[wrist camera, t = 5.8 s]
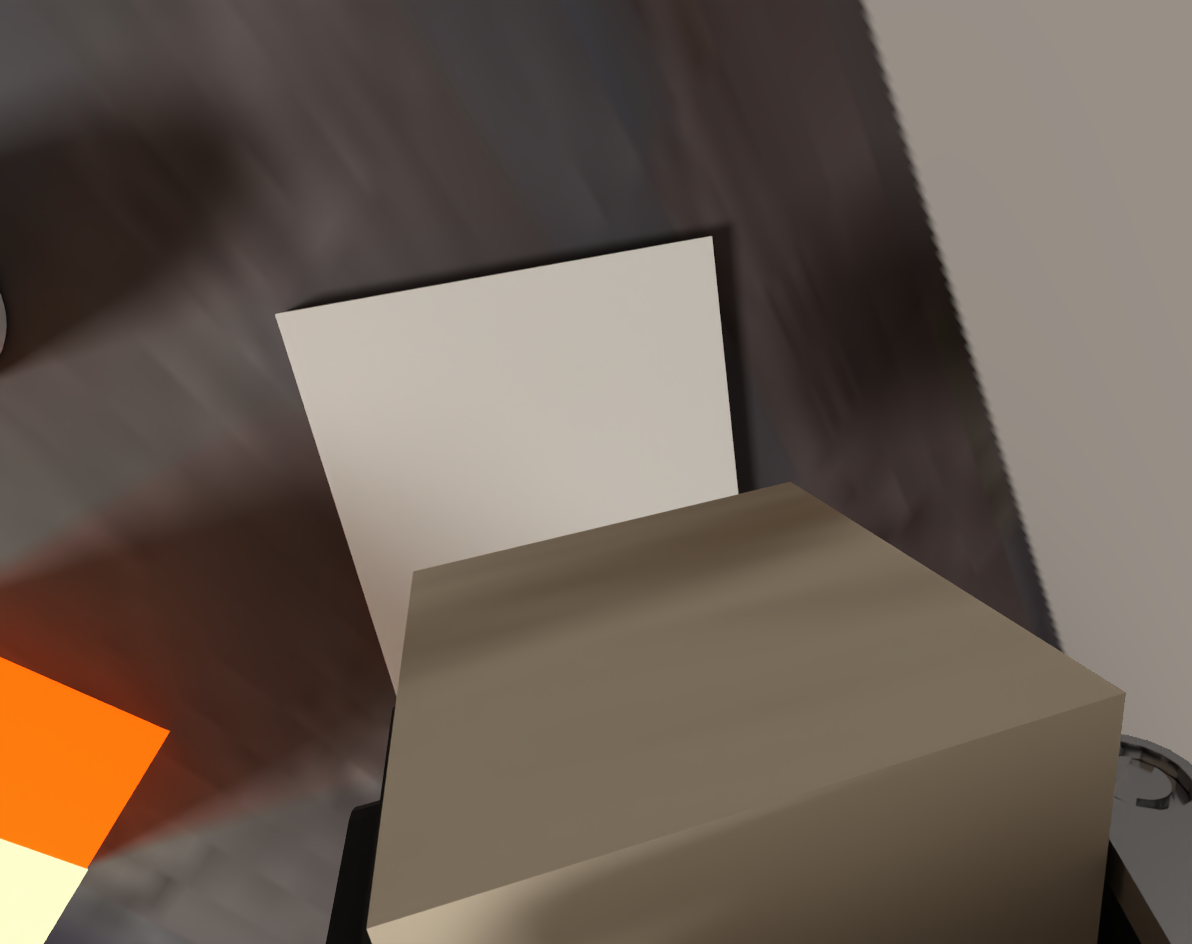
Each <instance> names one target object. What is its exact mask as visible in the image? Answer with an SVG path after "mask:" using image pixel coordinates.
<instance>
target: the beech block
mask: <svg viewBox="0 0 1192 944" xmlns="http://www.w3.org/2000/svg"><path fill="white" fill-rule="evenodd" d="M1124 702H1125V692H1124V691H1122V690H1121V689H1119V688H1118V687H1116V686H1114V685H1113V684H1111V683H1110V682H1108V681H1106V680H1105V679H1103V678H1101V677H1100V676H1098V675H1097V674H1095V673H1094V672H1092V671H1091V670H1089V669H1087V668H1086V667H1084V666H1083V665H1081V664H1079V663H1078V662H1076V661H1075V660H1073V659H1071V658H1070V657H1068V656H1067V655H1065V654H1064V653H1062V652H1060V651H1059V650H1057V649H1056V648H1054V647H1052V646H1051V645H1049V644H1048V643H1046V642H1044V641H1043V640H1041V639H1040V638H1038V637H1036V636H1035V635H1033V634H1032V633H1030V632H1029V631H1027V630H1025V629H1024V628H1022V627H1021V626H1019V625H1017V624H1016V623H1014V622H1013V621H1011V620H1009V619H1008V618H1006V617H1005V616H1003V615H1001V614H1000V613H998V612H997V611H995V610H994V609H992V608H990V607H989V606H987V605H986V604H984V603H982V602H981V601H979V600H978V599H976V598H974V597H973V596H971V595H970V594H968V593H966V592H965V591H963V590H962V589H960V588H958V587H957V586H955V585H954V584H952V583H951V582H949V581H947V580H946V579H944V578H943V577H941V576H939V575H938V574H936V573H935V572H933V571H931V570H930V569H928V568H927V567H925V566H923V565H922V564H920V563H919V562H917V561H916V560H914V559H912V558H911V557H909V556H908V555H906V554H904V553H903V552H901V551H900V550H898V549H896V548H895V547H893V546H892V545H890V544H888V543H887V542H885V541H884V540H882V539H881V538H879V537H877V536H876V535H874V534H873V533H871V532H869V531H868V530H866V529H865V528H863V527H861V526H860V525H858V524H857V523H855V522H853V521H852V520H850V519H849V518H847V517H846V516H844V515H842V514H841V513H839V512H838V511H836V510H834V509H833V508H831V507H830V506H828V505H826V504H825V503H823V502H822V501H820V500H818V499H817V498H815V497H814V496H812V495H811V494H809V493H807V492H806V491H804V490H803V489H801V488H799V487H798V486H796V485H795V484H793V483H791V482H788V483H784V484H779V485H775V486H771V487H767V488H762V489H758V490H754V491H750V492H746V493H741V494H737V495H733V496H729V497H725V498H720V499H716V500H712V501H708V502H704V503H699V504H695V505H691V506H687V507H682V508H678V509H674V510H670V511H666V512H661V513H657V514H653V515H649V516H645V517H640V518H636V519H632V520H628V521H624V522H619V523H615V524H611V525H607V526H602V527H598V528H594V529H590V530H586V531H581V532H577V533H573V534H569V535H565V536H560V537H556V538H552V539H548V540H544V541H539V542H535V543H531V544H527V545H523V546H518V547H514V548H510V549H506V550H501V551H497V552H493V553H489V554H485V555H480V556H476V557H472V558H468V559H464V560H459V561H455V562H451V563H447V564H443V565H438V566H434V567H430V568H426V569H421V570H417V571H413V576H412V583H411V591H410V599H409V606H408V614H407V622H406V629H405V637H404V645H403V652H402V660H401V668H400V675H399V683H398V691H397V698H396V706H395V714H394V721H393V729H392V737H391V744H390V752H389V760H388V767H387V775H386V783H385V790H384V798H383V806H382V813H381V821H380V829H379V836H378V844H377V852H376V859H375V867H374V875H373V882H372V890H371V898H370V905H369V913H368V921H367V928H366V929H367V932H368V934H369V937H370V939H371V942H372V944H1097V939H1098V931H1099V922H1100V913H1101V904H1102V896H1103V887H1104V878H1105V869H1106V861H1107V852H1108V843H1109V834H1110V826H1111V817H1112V808H1113V799H1114V791H1115V782H1116V773H1117V764H1118V756H1119V747H1120V738H1121V729H1122V720H1123V711H1124Z"/></svg>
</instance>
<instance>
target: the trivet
mask: <svg viewBox="0 0 1192 944" xmlns="http://www.w3.org/2000/svg"><path fill="white" fill-rule="evenodd" d="M275 316H276V319H277V322H278V325H279V328H280V331H281V335H282V338H283V341H284V344H285V347H286V350H287V353H288V357H289V360H290V363H291V366H292V369H293V372H294V375H295V379H296V382H297V385H298V388H299V391H300V394H301V397H302V401H303V404H304V407H305V410H306V413H307V416H308V419H309V423H310V426H311V429H312V432H313V435H314V438H315V442H316V445H317V448H318V451H319V454H320V457H321V460H322V464H323V467H324V470H325V473H326V476H327V479H328V482H329V486H330V489H331V492H332V495H333V498H334V501H335V504H336V508H337V511H338V514H339V517H340V520H341V523H342V527H343V530H344V533H345V536H346V539H347V542H348V545H349V549H350V552H351V555H352V558H353V561H354V564H355V567H356V571H357V574H358V577H359V580H360V583H361V586H362V589H363V593H364V596H365V599H366V602H367V605H368V608H369V612H370V615H371V618H372V621H373V624H374V627H375V630H376V634H377V637H378V640H379V643H380V646H381V649H382V652H383V656H384V659H385V662H386V665H387V668H388V671H389V674H390V678H391V681H392V684H393V687H394V690H395V693H396V696H397V691H398V683H399V675H400V668H401V660H402V652H403V645H404V637H405V629H406V622H407V614H408V606H409V599H410V591H411V583H412V576H413V571H417V570H421V569H426V568H430V567H434V566H438V565H443V564H447V563H451V562H455V561H459V560H464V559H468V558H472V557H476V556H480V555H485V554H489V553H493V552H497V551H501V550H506V549H510V548H514V547H518V546H523V545H527V544H531V543H535V542H539V541H544V540H548V539H552V538H556V537H560V536H565V535H569V534H573V533H577V532H581V531H586V530H590V529H594V528H598V527H602V526H607V525H611V524H615V523H619V522H624V521H628V520H632V519H636V518H640V517H645V516H649V515H653V514H657V513H661V512H666V511H670V510H674V509H678V508H682V507H687V506H691V505H695V504H699V503H704V502H708V501H712V500H716V499H720V498H725V497H729V496H733V495H737V494H738V486H737V476H736V466H735V456H734V446H733V437H732V427H731V417H730V407H729V397H728V388H727V378H726V368H725V358H724V348H723V338H722V329H721V319H720V309H719V299H718V289H717V280H716V270H715V260H714V250H713V240H712V236H708V237H700V238H694V239H688V240H683V241H677V242H672V243H666V244H660V245H655V246H649V247H644V248H638V249H632V250H627V251H621V252H616V253H610V254H604V255H599V256H593V257H588V258H582V259H576V260H571V261H565V262H560V263H554V264H548V265H543V266H537V267H532V268H526V269H520V270H515V271H509V272H504V273H498V274H492V275H487V276H481V277H476V278H470V279H464V280H459V281H453V282H448V283H442V284H436V285H431V286H425V287H420V288H414V289H408V290H403V291H397V292H392V293H386V294H380V295H375V296H369V297H364V298H358V299H352V300H347V301H341V302H336V303H330V304H324V305H319V306H313V307H308V308H302V309H296V310H291V311H285V312H281V313H277V314H275Z"/></svg>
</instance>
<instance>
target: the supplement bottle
mask: <svg viewBox="0 0 1192 944" xmlns="http://www.w3.org/2000/svg"><path fill="white" fill-rule="evenodd" d="M6 328H7V323H6V312H5V307H4V303H3V300H2V297H1V294H0V353H1V351H2V349H3V345H4V341H5V337H6Z"/></svg>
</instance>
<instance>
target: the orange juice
mask: <svg viewBox="0 0 1192 944" xmlns="http://www.w3.org/2000/svg"><path fill="white" fill-rule="evenodd" d="M169 732H170V731H168V730H166V729H163V728H161V727H159V726H156V725H154V724H152V723H150V722H147V721H145V720H143V719H140V718H138V717H136V716H134V715H131V714H129V713H127V712H124V711H122V710H120V709H118V708H115V707H113V706H111V705H108V704H106V703H104V702H102V701H99V700H97V699H95V698H92V697H90V696H88V695H86V694H83V693H81V692H79V691H76V690H74V689H72V688H70V687H67V686H65V685H63V684H60V683H58V682H56V681H54V680H51V679H49V678H47V677H44V676H42V675H40V674H38V673H35V672H33V671H31V670H28V669H26V668H24V667H22V666H19V665H17V664H15V663H12V662H10V661H8V660H6V659H3V658H1V657H0V944H43V943H44V942H45V940H46V939H47V937H48V935H49V934H50V932H51V930H52V929H53V927H54V925H55V924H56V922H57V920H58V919H59V917H60V915H61V914H62V912H63V910H64V909H65V907H66V905H67V904H68V902H69V900H70V899H71V897H72V895H73V894H74V892H75V890H76V889H77V887H78V885H79V884H80V882H81V880H82V879H83V877H84V876H85V874H86V872H87V871H88V869H87V867H88V866H89V864H90V862H91V861H92V859H93V857H94V856H95V854H96V852H97V851H98V849H99V847H100V846H101V844H102V843H103V841H104V839H105V838H106V836H107V834H108V833H109V831H110V829H111V828H112V826H113V824H114V823H115V821H116V819H117V818H118V816H119V814H120V813H121V811H122V810H123V808H124V806H125V805H126V803H127V801H128V800H129V798H130V796H131V795H132V793H133V791H134V790H135V788H136V786H137V785H138V783H139V782H140V780H141V778H142V777H143V775H144V773H145V772H146V770H147V768H148V767H149V765H150V763H151V762H152V760H153V758H154V757H155V755H156V753H157V752H158V750H159V749H160V747H161V745H162V744H163V742H164V740H165V739H166V737H167V735H168V734H169Z"/></svg>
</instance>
